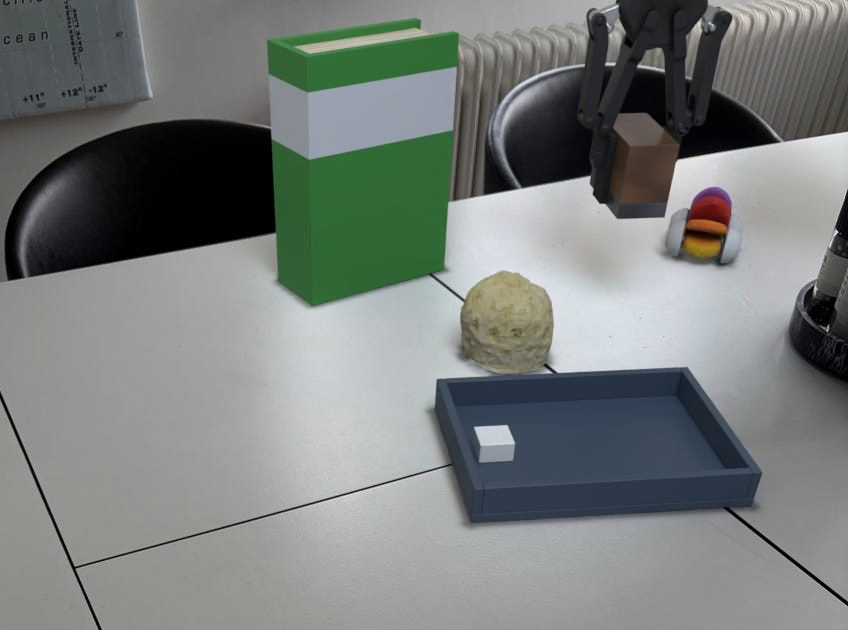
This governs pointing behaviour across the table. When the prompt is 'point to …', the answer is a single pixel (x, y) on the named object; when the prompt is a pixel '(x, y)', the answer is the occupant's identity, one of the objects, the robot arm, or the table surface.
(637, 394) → the tray
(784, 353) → the table surface
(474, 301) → the decorative item
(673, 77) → the robot arm
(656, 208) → the eraser
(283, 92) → the hardback book
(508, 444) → the white short square block
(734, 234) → the rainbow disc roller
